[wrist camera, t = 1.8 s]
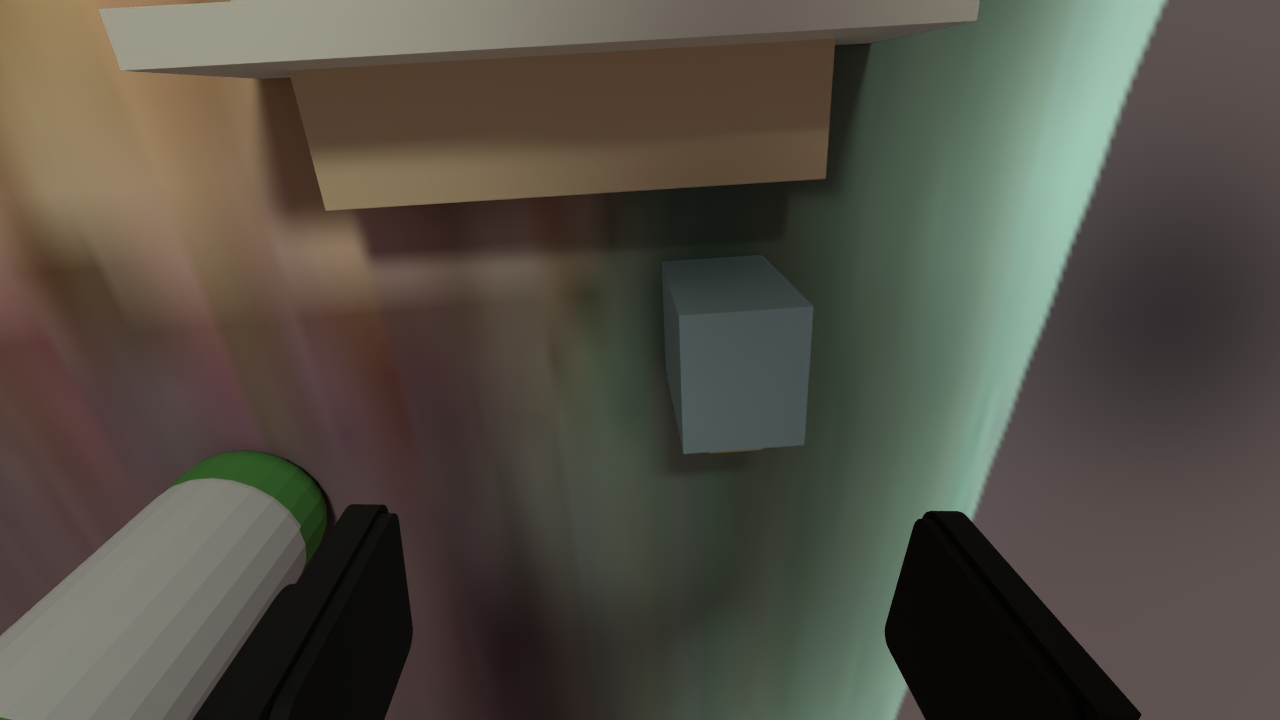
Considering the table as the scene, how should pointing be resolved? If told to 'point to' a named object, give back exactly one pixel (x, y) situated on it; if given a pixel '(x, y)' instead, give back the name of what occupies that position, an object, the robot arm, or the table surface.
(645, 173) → the wall shelf
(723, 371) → the cabinet block
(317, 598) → the robot arm
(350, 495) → the table surface
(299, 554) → the wine bottle
